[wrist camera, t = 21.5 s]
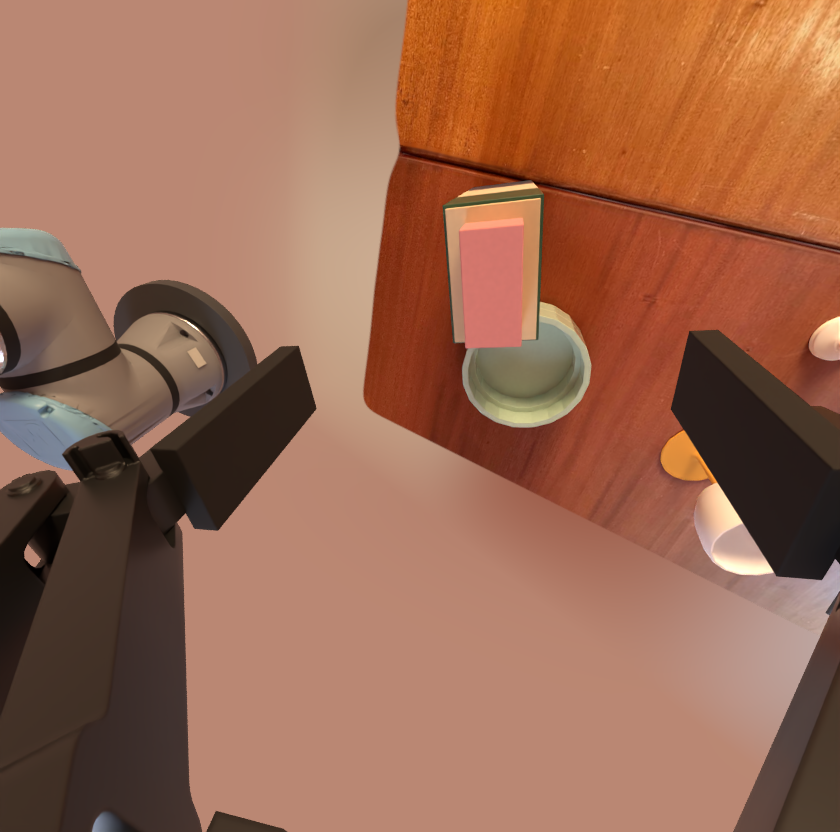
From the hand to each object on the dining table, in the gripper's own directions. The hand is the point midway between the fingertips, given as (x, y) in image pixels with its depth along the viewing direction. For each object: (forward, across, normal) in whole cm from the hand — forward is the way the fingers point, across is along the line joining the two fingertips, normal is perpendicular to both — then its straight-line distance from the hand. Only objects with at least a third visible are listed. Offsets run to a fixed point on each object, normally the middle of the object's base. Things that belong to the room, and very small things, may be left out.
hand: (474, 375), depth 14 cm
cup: (+37, +26, -30) cm, 54 cm away
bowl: (+37, +2, -15) cm, 40 cm away
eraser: (+14, 0, 0) cm, 14 cm away
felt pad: (+15, 0, 0) cm, 15 cm away
